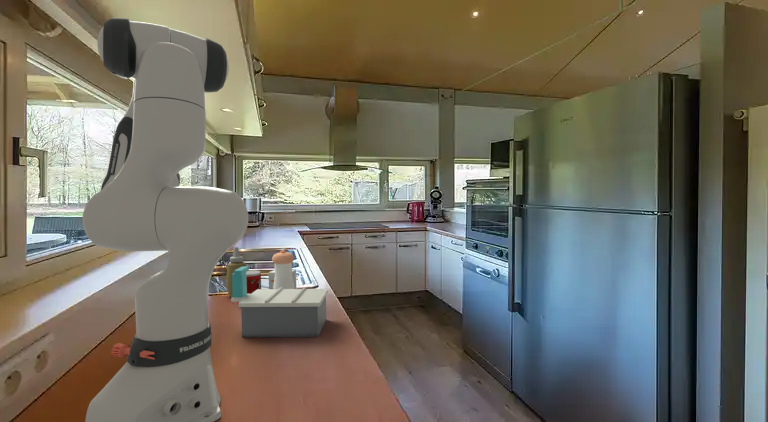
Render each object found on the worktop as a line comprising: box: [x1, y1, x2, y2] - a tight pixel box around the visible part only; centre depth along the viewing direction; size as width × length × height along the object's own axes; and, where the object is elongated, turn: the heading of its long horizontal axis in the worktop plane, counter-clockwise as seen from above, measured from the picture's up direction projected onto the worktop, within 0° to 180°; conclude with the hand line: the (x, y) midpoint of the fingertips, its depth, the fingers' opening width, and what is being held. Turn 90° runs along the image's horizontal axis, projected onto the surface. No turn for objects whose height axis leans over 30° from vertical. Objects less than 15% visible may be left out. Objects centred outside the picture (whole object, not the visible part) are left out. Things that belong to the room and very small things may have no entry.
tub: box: [240, 296, 327, 338], centre depth 111 cm, size 14×20×8 cm
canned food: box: [236, 269, 262, 304], centre depth 135 cm, size 8×8×11 cm
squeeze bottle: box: [225, 246, 247, 298], centre depth 146 cm, size 8×8×18 cm
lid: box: [230, 265, 329, 308], centre depth 110 cm, size 15×25×9 cm, turn 89°
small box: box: [268, 269, 298, 289], centre depth 140 cm, size 8×6×10 cm
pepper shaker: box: [271, 249, 295, 289], centre depth 130 cm, size 7×7×19 cm
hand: (205, 254), depth 110 cm, fingers open, 8 cm apart
